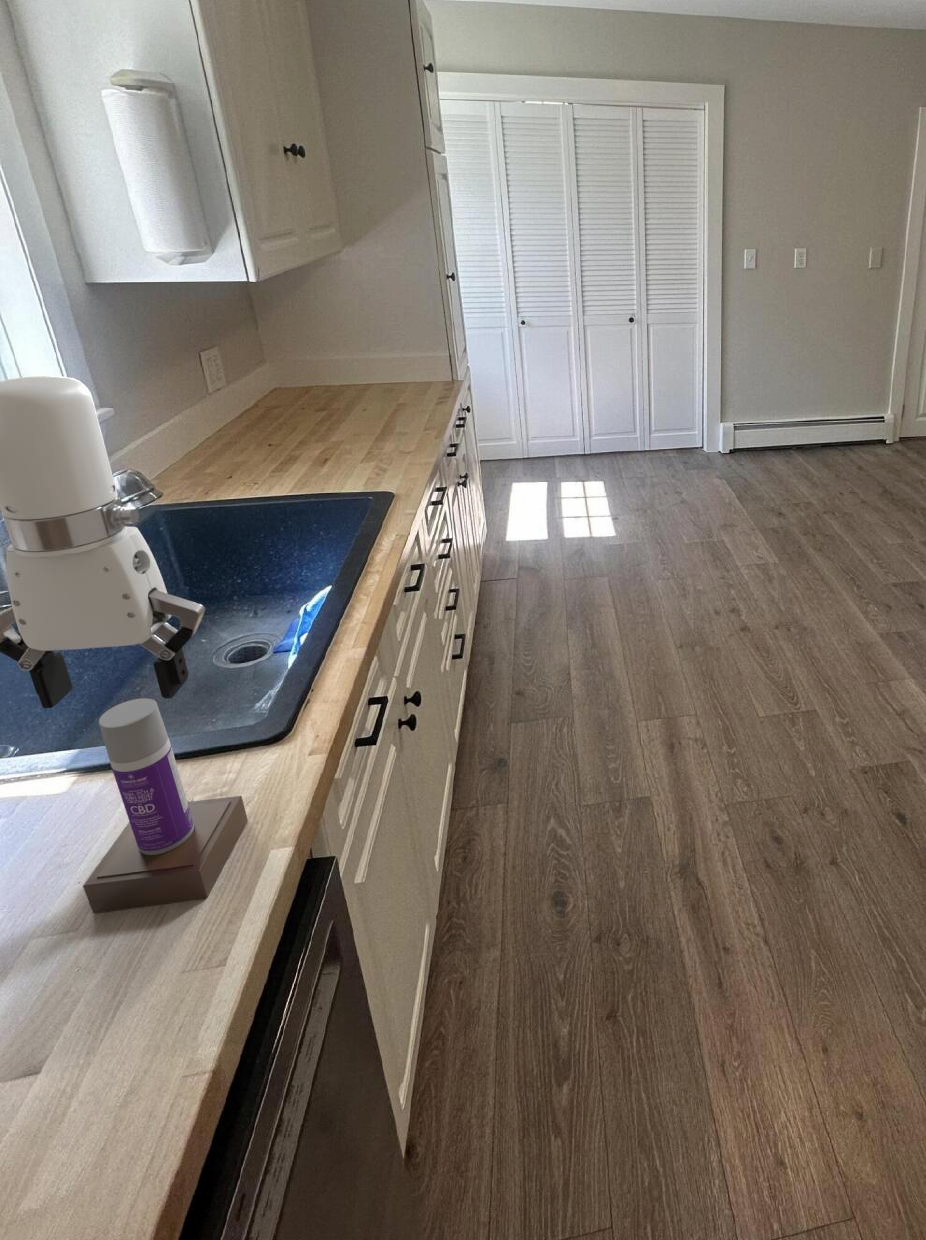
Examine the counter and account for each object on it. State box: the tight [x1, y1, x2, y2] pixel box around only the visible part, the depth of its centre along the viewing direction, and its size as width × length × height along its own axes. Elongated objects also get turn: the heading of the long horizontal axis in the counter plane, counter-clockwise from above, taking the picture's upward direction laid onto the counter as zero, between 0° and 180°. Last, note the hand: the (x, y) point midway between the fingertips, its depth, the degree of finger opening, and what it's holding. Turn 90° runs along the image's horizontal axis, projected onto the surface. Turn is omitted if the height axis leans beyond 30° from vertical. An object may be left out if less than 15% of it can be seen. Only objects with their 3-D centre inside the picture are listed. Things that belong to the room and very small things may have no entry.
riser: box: [82, 795, 249, 914], centre depth 75 cm, size 10×10×4 cm
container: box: [98, 697, 194, 855], centre depth 72 cm, size 5×5×15 cm
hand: (117, 694), depth 68 cm, fingers open, 9 cm apart
